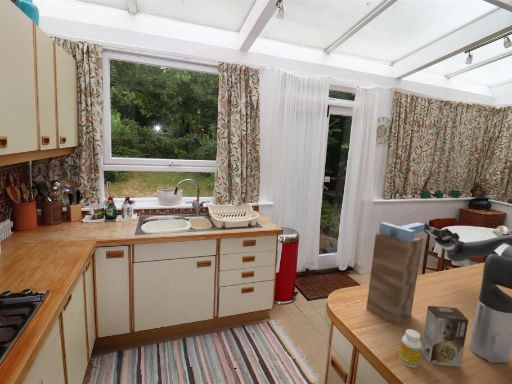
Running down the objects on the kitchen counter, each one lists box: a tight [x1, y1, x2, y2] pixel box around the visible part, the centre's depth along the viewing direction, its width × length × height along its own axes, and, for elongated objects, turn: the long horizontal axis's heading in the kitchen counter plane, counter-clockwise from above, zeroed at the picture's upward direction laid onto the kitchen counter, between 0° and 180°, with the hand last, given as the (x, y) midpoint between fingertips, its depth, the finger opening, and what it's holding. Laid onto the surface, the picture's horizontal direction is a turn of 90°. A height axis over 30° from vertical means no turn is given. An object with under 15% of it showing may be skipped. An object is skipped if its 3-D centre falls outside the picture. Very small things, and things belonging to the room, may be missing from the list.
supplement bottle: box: [398, 328, 422, 368], centre depth 88 cm, size 5×5×10 cm
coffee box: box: [421, 305, 469, 368], centre depth 89 cm, size 9×6×16 cm
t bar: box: [378, 221, 425, 242], centre depth 112 cm, size 20×12×4 cm, turn 125°
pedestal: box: [366, 232, 424, 325], centre depth 112 cm, size 12×12×32 cm
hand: (435, 227), depth 126 cm, fingers open, 8 cm apart
